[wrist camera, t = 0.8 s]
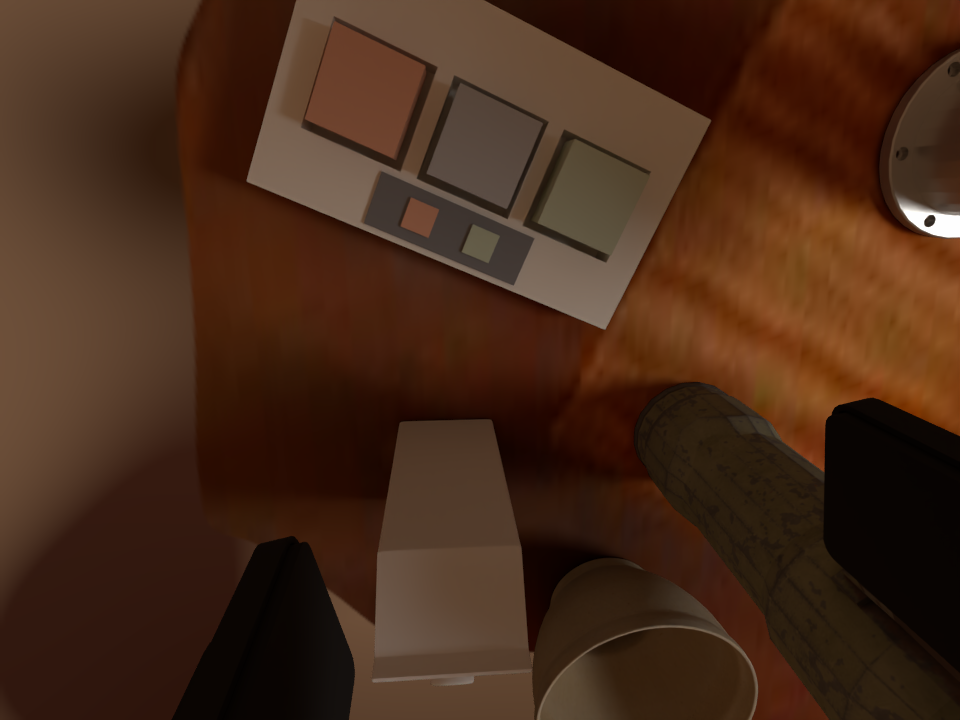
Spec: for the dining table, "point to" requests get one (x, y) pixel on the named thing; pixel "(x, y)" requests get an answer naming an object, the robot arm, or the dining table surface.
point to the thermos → (789, 557)
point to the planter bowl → (636, 652)
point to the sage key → (589, 196)
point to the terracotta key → (365, 91)
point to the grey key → (484, 146)
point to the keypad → (405, 183)
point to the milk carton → (449, 560)
